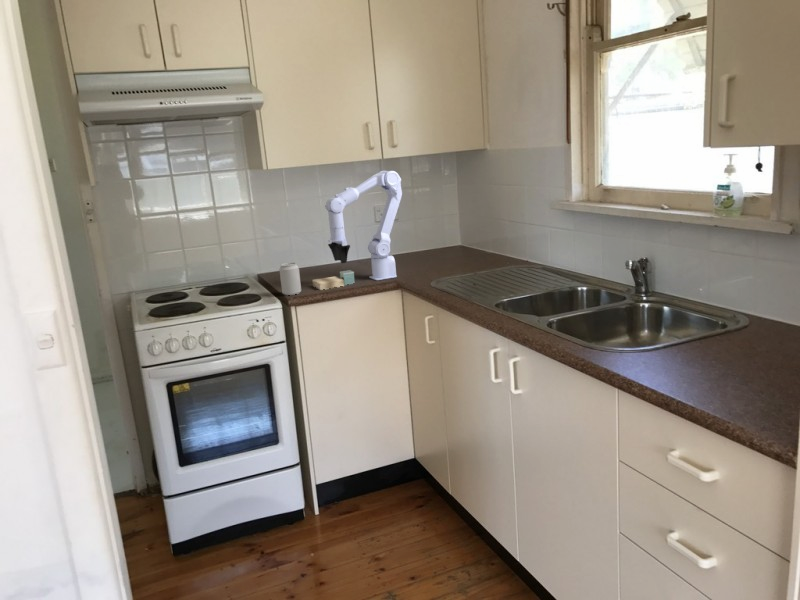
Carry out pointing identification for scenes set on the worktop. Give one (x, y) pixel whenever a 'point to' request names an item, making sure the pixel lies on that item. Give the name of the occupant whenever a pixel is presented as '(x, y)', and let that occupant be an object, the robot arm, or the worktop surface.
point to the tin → (347, 277)
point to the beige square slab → (328, 283)
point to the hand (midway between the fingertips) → (340, 261)
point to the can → (290, 279)
